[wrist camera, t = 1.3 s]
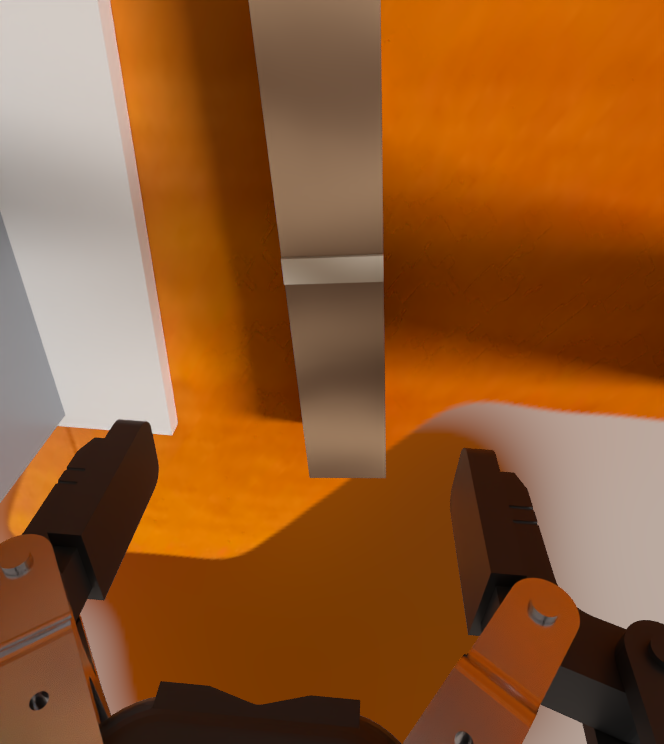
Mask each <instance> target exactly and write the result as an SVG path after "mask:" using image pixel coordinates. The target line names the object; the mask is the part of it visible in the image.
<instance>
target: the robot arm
mask: <svg viewBox="0 0 664 744" xmlns="http://www.w3.org/2000/svg"><path fill="white" fill-rule="evenodd" d="M158 471H159V466H158V459H157V454H156V449H155V444H154V439H153V434H152V429H151V425H150V423H149V422H147V421H135V420H123V419H118V420H116V421H115V423H114V424H113V426H112V427H111V429H110V431H109V432H108V434H107V435H106V437H105V438H94V439H92V440H91V441H90V442H88V443H87V444H86V445H85V446H83V447H82V448H81V449H79V450H78V451H77V453H76V454H75V456H74V457H73V459H72V460H71V462H70V463H69V465H68V466H67V470H65V471H64V472H63V474H62V475H61V477H60V478H59V480H58V484H55V486H54V487H53V489H52V490H51V492H50V493H49V495H48V496H47V498H46V499H45V501H44V503H43V504H42V506H41V507H40V509H39V510H38V512H37V513H36V515H35V516H34V518H33V519H32V521H31V522H30V524H29V525H28V527H27V528H26V530H25V531H24V533H23V534H22V535H20V536H16V537H13V538H10V539H8V540H6V541H4V542H2V543H1V544H0V744H401V743H400V742H399V741H398V740H397V739H396V738H395V737H394V736H393V735H392V734H391V733H390V732H388V731H387V730H386V729H384V728H383V727H382V726H380V725H379V724H377V723H375V722H373V721H372V720H370V719H368V718H365V717H363V716H360V700H353V699H342V698H332V697H320V696H306V697H300V698H296V699H290V700H284V701H279V702H274V703H269V704H263V705H255V704H252V703H250V702H247V701H245V700H242V699H240V698H238V697H235V696H233V695H230V694H228V693H225V692H223V691H220V690H218V689H216V688H213V687H211V686H204V685H194V684H184V683H172V682H162V681H161V682H160V685H159V688H158V692H157V695H156V697H153V698H148V699H146V700H143V701H139V702H136V703H134V704H132V705H130V706H128V707H125V708H123V709H122V710H120V711H119V712H117V713H115V714H113V715H112V716H111V713H110V710H109V707H108V704H107V701H106V698H105V695H104V693H103V690H102V686H101V684H100V680H99V677H98V673H97V669H96V666H95V663H94V659H93V656H92V652H91V649H90V645H89V642H88V638H87V635H86V631H85V628H84V625H83V621H82V618H81V615H80V613H81V611H82V609H83V607H84V604H85V602H86V600H87V599H96V600H104V599H105V597H106V595H107V593H108V591H109V588H110V586H111V584H112V582H113V580H114V577H115V575H116V573H117V570H118V569H119V566H120V564H121V562H122V559H123V558H124V555H125V553H126V551H127V549H128V546H129V544H130V542H131V540H132V538H133V535H134V533H135V531H136V529H137V527H138V524H139V522H140V520H141V518H142V515H143V513H144V511H145V509H146V507H147V504H148V502H149V500H150V498H151V496H152V493H153V491H154V489H155V486H156V483H157V479H158ZM450 511H451V519H452V525H453V532H454V540H455V546H456V553H457V560H458V567H459V574H460V580H461V588H462V595H463V602H464V608H465V615H466V622H467V629H468V635H476V636H479V638H478V640H477V641H476V642H475V644H474V645H473V647H472V648H471V650H470V651H469V653H468V654H467V655H465V654H464V655H463V656H462V657H461V659H460V660H459V661H458V662H457V664H456V665H455V667H454V668H453V670H452V671H451V673H450V674H449V676H448V677H447V679H446V680H445V682H444V683H443V685H442V686H441V688H440V689H439V691H438V692H437V694H436V695H435V697H434V698H433V699H432V701H431V702H430V704H429V705H428V707H427V709H426V710H425V711H424V713H423V714H422V716H421V718H420V719H419V720H418V722H417V723H416V725H415V726H414V728H413V729H412V731H411V732H410V734H409V735H408V737H407V738H406V740H405V741H404V743H403V744H522V742H523V740H524V739H525V737H526V735H527V733H528V731H529V729H530V727H531V725H532V723H533V721H534V719H535V717H536V714H537V712H538V708H539V706H540V704H541V705H543V706H545V707H547V708H550V709H552V710H554V711H557V712H559V713H561V714H563V715H565V716H568V717H570V718H572V719H574V720H577V721H579V722H581V723H583V728H584V732H585V736H586V741H587V744H664V624H661V623H659V622H655V621H650V620H641V621H637V622H634V623H633V624H631V625H630V626H629V627H628V628H627V629H624V628H621V627H619V626H616V625H614V624H611V623H608V622H606V621H603V620H601V619H598V618H595V617H593V616H591V615H589V614H587V613H585V612H583V611H581V610H580V609H579V608H577V607H576V605H575V603H574V602H573V600H572V599H571V597H570V596H569V595H568V594H567V593H566V592H565V591H564V590H563V589H561V588H560V587H558V585H557V583H556V580H555V577H554V574H553V571H552V568H551V565H550V561H549V558H548V555H547V551H546V548H545V545H544V542H543V538H542V535H541V532H540V529H539V526H538V525H537V519H536V516H535V512H534V511H533V506H532V503H531V500H530V496H529V493H528V490H527V488H526V487H525V486H524V485H523V483H522V482H521V481H520V480H519V478H518V477H517V476H516V475H515V473H511V472H500V469H499V465H498V462H497V458H496V454H495V452H494V451H493V450H484V449H471V448H463V449H462V451H461V454H460V458H459V462H458V466H457V470H456V474H455V478H454V482H453V486H452V490H451V499H450Z"/></svg>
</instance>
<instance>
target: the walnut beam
mask: <svg viewBox="0 0 664 744" xmlns="http://www.w3.org/2000/svg"><path fill="white" fill-rule="evenodd" d="M248 1H249V9H250V17H251V25H252V32H253V40H254V48H255V56H256V64H257V71H258V79H259V87H260V95H261V102H262V110H263V118H264V126H265V134H266V141H267V149H268V157H269V165H270V172H271V180H272V188H273V196H274V204H275V211H276V219H277V227H278V235H279V243H280V250H281V265H282V273H283V281H284V285H285V289H286V297H287V305H288V313H289V320H290V328H291V336H292V344H293V351H294V359H295V367H296V375H297V383H298V390H299V398H300V406H301V414H302V421H303V429H304V437H305V445H306V453H307V460H308V468H309V476H310V478H386V444H385V356H384V265H383V179H382V91H381V3H380V0H248Z"/></svg>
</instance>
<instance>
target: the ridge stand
mask: <svg viewBox="0 0 664 744" xmlns="http://www.w3.org/2000/svg"><path fill="white" fill-rule="evenodd" d="M118 419H123V420H135V421H147V422H149V423H150V425H151V429H152V434H163V435H173V433H174V430H175V428H176V426H177V424H178V421H177V414H176V408H175V402H174V396H173V390H172V383H171V377H170V371H169V365H168V359H167V352H166V346H165V340H164V334H163V327H162V321H161V315H160V309H159V303H158V296H157V290H156V284H155V278H154V272H153V265H152V259H151V253H150V247H149V240H148V234H147V228H146V222H145V216H144V209H143V203H142V197H141V191H140V185H139V178H138V172H137V166H136V160H135V153H134V147H133V141H132V135H131V129H130V122H129V116H128V110H127V104H126V98H125V91H124V85H123V79H122V73H121V67H120V60H119V54H118V48H117V42H116V35H115V29H114V23H113V17H112V11H111V4H110V0H0V502H1V501H2V500H3V498H4V497H5V496H6V494H7V493H8V492H9V490H10V489H11V488H12V486H13V485H14V484H15V482H16V481H17V480H18V478H19V477H20V475H21V474H22V473H23V471H24V470H25V469H26V467H27V466H28V465H29V463H30V462H31V461H32V459H33V458H34V457H35V455H36V454H37V453H38V451H39V450H40V449H41V447H42V446H43V444H44V443H45V442H46V440H47V439H48V438H49V436H50V435H51V434H52V432H53V431H54V430H55V428H56V427H57V426H66V427H78V428H90V429H102V430H110V429H111V427H112V426H113V424H114V423H115V421H116V420H118Z"/></svg>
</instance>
